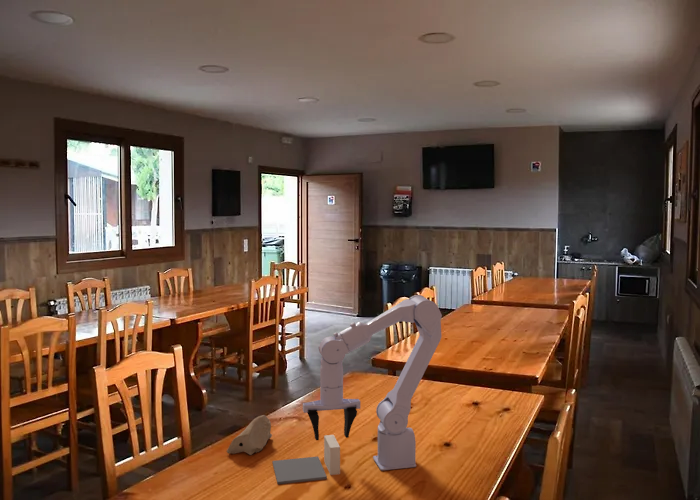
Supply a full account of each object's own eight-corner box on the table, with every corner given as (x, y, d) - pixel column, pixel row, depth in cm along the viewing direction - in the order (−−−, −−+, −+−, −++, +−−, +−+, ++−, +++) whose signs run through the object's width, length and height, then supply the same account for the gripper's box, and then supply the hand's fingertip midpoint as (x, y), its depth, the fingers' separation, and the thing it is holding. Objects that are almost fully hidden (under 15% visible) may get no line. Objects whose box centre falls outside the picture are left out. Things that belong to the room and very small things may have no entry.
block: (333, 460, 156) (333, 434, 156) (340, 474, 148) (340, 446, 148) (324, 461, 156) (324, 435, 155) (330, 475, 148) (330, 447, 147)
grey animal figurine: (277, 440, 170) (277, 412, 169) (250, 460, 157) (249, 429, 156) (253, 435, 173) (252, 408, 172) (224, 455, 160) (223, 425, 159)
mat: (318, 458, 157) (318, 456, 157) (326, 479, 146) (326, 476, 146) (272, 463, 155) (272, 460, 155) (277, 484, 143) (277, 481, 143)
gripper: (355, 378, 156) (355, 429, 157) (300, 382, 153) (300, 433, 154) (362, 386, 149) (362, 439, 150) (305, 390, 146) (305, 444, 147)
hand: (331, 437), depth 151 cm, fingers open, 7 cm apart
